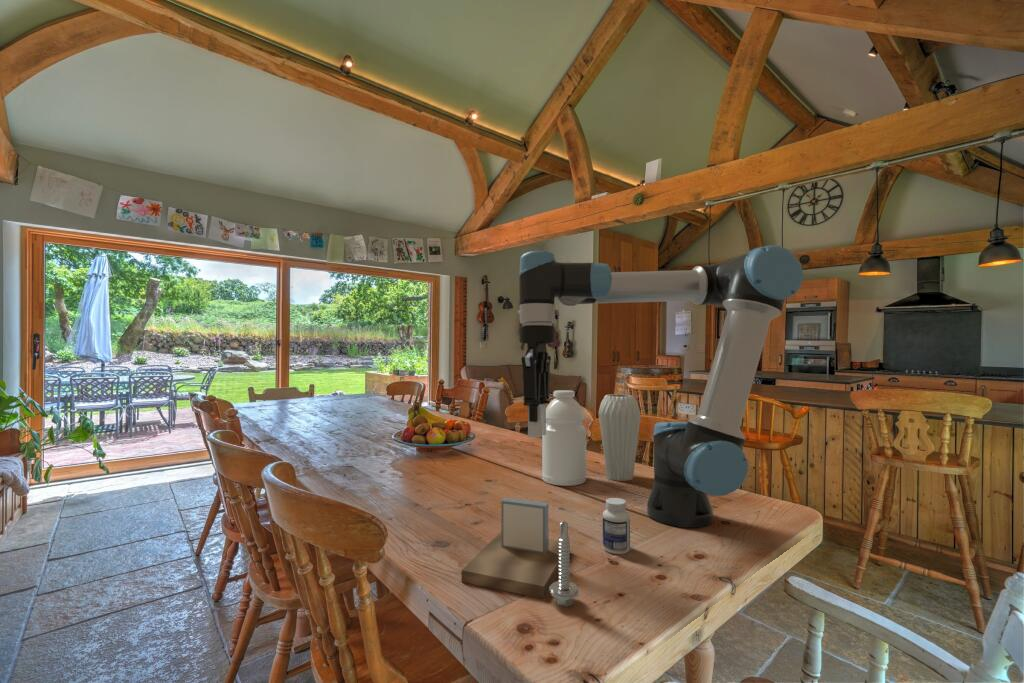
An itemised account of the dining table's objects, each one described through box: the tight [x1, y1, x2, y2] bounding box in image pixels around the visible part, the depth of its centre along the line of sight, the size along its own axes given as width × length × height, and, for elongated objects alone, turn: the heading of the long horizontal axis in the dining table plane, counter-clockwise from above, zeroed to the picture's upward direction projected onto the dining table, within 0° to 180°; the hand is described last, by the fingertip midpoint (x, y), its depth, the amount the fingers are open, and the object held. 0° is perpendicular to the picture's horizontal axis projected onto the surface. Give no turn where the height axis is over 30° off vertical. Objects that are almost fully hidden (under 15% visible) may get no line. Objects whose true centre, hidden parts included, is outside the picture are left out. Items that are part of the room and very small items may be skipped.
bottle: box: [541, 389, 587, 487], centre depth 140 cm, size 14×14×28 cm
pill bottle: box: [602, 497, 631, 555], centre depth 91 cm, size 5×5×10 cm
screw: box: [548, 520, 580, 608], centre depth 71 cm, size 13×5×5 cm
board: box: [461, 531, 571, 600], centre depth 83 cm, size 15×18×2 cm
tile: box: [500, 497, 550, 554], centre depth 86 cm, size 9×2×9 cm, turn 69°
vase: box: [598, 393, 642, 482], centre depth 143 cm, size 13×13×26 cm
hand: (537, 435), depth 94 cm, fingers open, 3 cm apart
